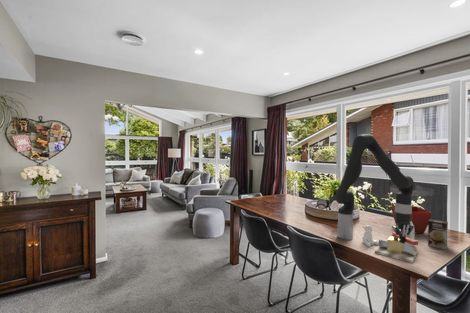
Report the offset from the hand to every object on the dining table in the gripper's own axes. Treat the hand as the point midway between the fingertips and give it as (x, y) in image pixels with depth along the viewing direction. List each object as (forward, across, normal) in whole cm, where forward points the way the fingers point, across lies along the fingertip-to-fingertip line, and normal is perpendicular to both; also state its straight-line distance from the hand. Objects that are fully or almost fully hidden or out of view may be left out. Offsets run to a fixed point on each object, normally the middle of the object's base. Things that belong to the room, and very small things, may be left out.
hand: (402, 242), depth 128 cm
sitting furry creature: (+10, +1, +24) cm, 26 cm away
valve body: (+8, +4, +8) cm, 12 cm away
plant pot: (+9, +52, +37) cm, 65 cm away
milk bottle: (+10, +23, +16) cm, 29 cm away
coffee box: (+9, +39, +9) cm, 41 cm away
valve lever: (+1, +4, +2) cm, 4 cm away
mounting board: (+10, +4, +8) cm, 13 cm away
